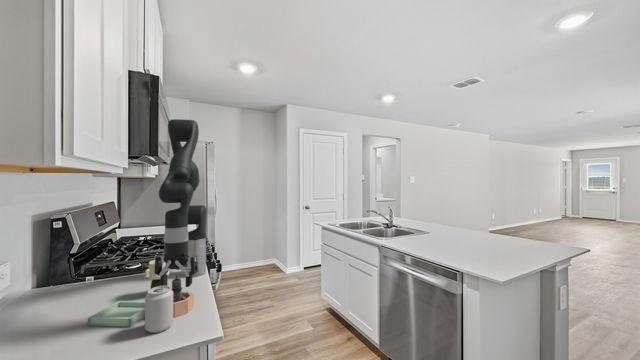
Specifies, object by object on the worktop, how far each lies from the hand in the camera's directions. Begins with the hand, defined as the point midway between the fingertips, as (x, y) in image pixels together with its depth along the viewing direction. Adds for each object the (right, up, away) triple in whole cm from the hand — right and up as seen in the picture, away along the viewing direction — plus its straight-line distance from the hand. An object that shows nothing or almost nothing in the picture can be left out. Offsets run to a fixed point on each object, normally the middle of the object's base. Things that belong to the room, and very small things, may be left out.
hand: (176, 286), depth 93 cm
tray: (-15, -9, -4) cm, 18 cm away
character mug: (-14, -9, +14) cm, 22 cm away
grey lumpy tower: (0, -9, 0) cm, 9 cm away
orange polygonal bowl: (0, -9, 0) cm, 9 cm away
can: (+1, -9, -11) cm, 14 cm away
